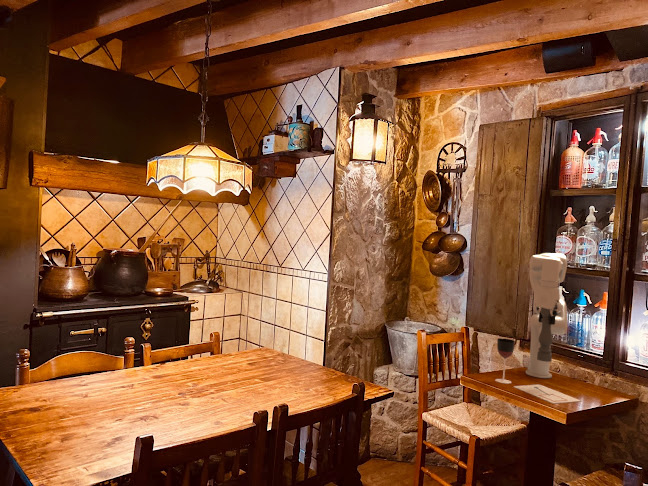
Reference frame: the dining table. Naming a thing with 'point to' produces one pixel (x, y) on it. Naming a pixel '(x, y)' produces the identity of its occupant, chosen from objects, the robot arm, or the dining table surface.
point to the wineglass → (505, 353)
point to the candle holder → (545, 337)
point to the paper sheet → (547, 394)
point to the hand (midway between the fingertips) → (546, 322)
